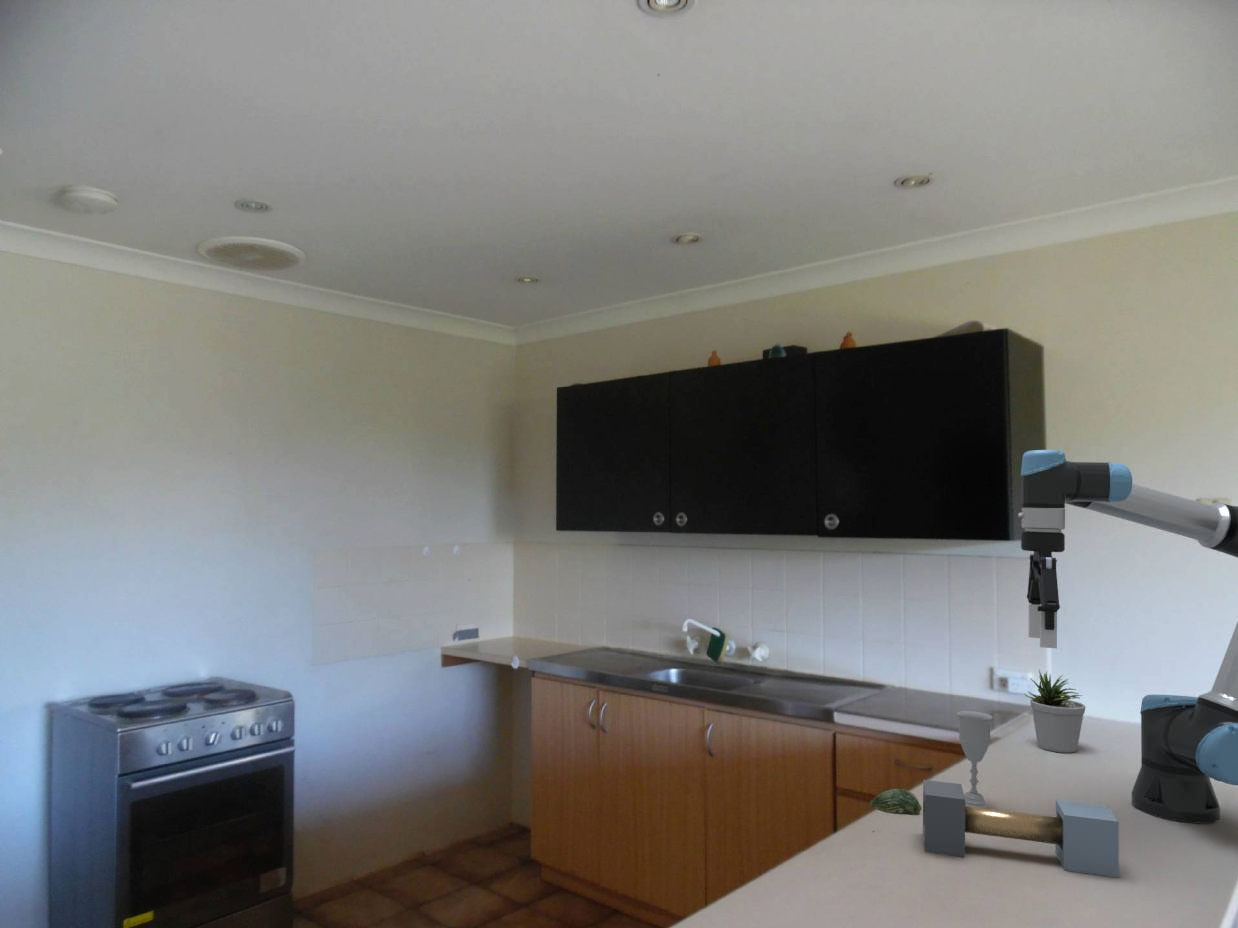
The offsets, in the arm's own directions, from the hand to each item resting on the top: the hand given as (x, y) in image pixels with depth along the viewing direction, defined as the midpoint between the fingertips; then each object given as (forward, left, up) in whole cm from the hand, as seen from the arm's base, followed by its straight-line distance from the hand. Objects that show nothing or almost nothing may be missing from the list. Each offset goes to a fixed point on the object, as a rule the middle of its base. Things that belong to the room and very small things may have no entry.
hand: (1042, 642), depth 165 cm
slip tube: (+9, +16, -32) cm, 37 cm away
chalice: (+11, -9, -35) cm, 38 cm away
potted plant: (-13, -65, -35) cm, 75 cm away
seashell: (+26, -2, -35) cm, 44 cm away
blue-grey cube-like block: (-4, +16, -35) cm, 38 cm away
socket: (+18, +16, -35) cm, 42 cm away
